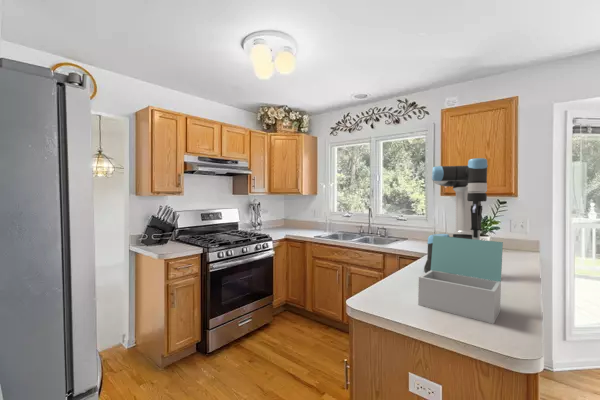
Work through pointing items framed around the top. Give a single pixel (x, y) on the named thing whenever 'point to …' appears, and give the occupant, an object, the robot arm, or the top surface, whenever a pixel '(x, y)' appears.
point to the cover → (467, 257)
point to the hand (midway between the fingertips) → (475, 244)
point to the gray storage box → (460, 295)
